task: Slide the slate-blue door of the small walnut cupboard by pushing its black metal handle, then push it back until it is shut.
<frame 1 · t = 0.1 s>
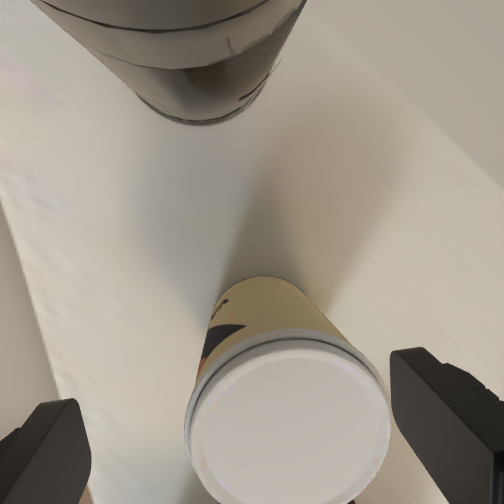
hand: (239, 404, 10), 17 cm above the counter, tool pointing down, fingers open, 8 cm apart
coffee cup: (262, 324, 28), on the counter
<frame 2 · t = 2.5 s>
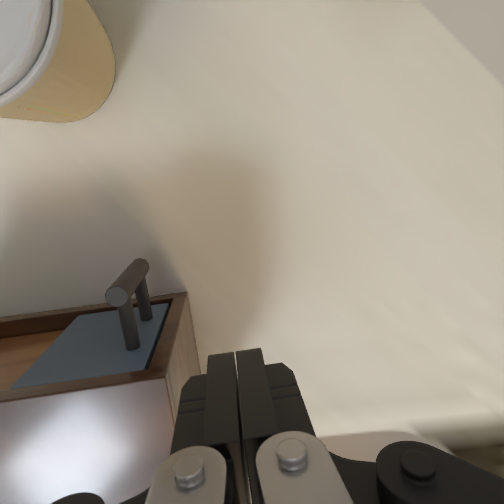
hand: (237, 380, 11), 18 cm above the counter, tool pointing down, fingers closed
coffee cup: (57, 62, 25), on the counter
sliding door: (98, 311, 23), point 6 cm above the counter, slide at 0.0 cm
cupboard: (96, 364, 30), on the counter
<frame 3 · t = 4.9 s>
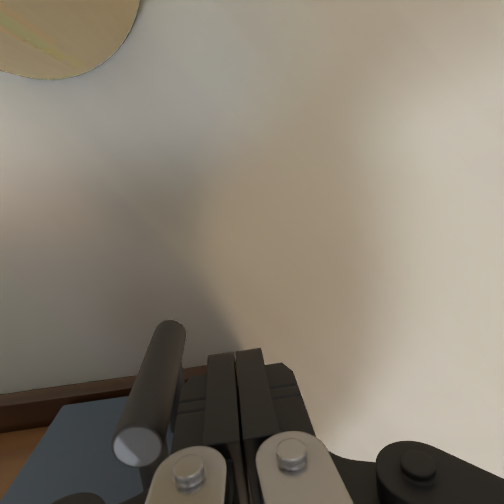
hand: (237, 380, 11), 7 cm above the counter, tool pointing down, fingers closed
sliding door: (96, 434, 12), point 6 cm above the counter, slide at 0.5 cm, touching gripper
cupboard: (101, 470, 19), on the counter
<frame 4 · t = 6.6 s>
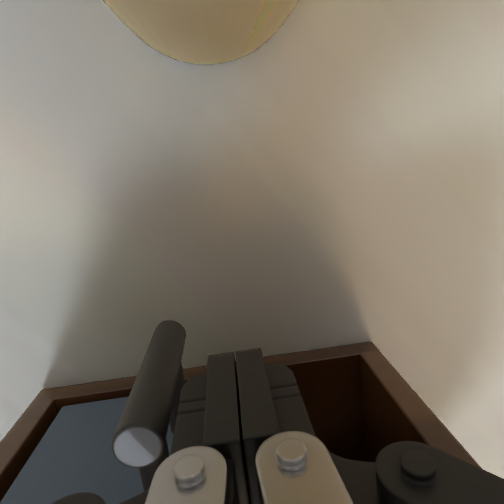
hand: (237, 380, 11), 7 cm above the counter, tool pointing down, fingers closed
sliding door: (96, 435, 12), point 6 cm above the counter, slide at 6.7 cm, touching gripper
cupboard: (224, 452, 19), on the counter
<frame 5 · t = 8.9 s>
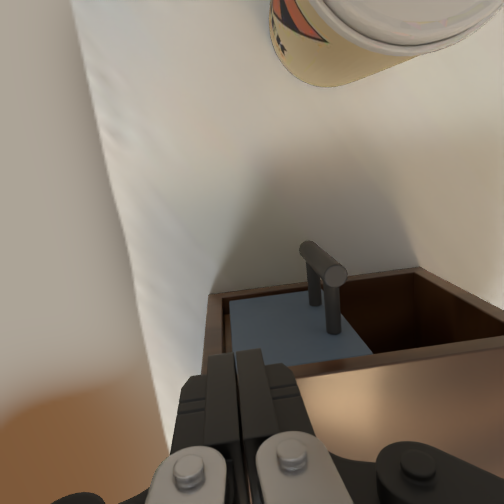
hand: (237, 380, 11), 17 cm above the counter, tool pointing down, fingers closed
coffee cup: (327, 24, 24), on the counter
sliding door: (284, 294, 21), point 6 cm above the counter, slide at 6.6 cm
cupboard: (320, 341, 29), on the counter
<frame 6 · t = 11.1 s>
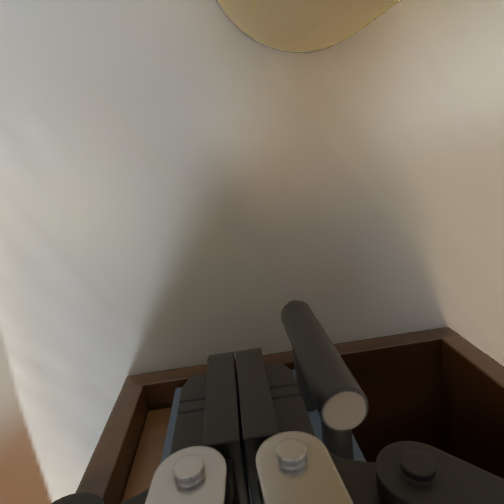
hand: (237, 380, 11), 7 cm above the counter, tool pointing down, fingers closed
sliding door: (251, 408, 12), point 6 cm above the counter, slide at 5.7 cm, touching gripper
cupboard: (300, 437, 20), on the counter
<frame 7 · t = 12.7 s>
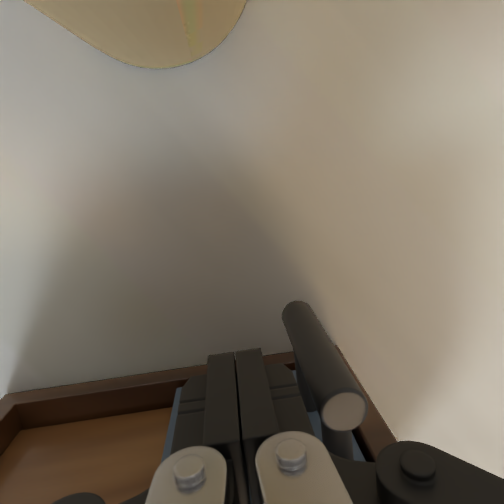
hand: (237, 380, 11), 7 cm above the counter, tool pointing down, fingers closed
sliding door: (251, 408, 12), point 6 cm above the counter, slide at -0.1 cm, touching gripper
cupboard: (190, 456, 19), on the counter
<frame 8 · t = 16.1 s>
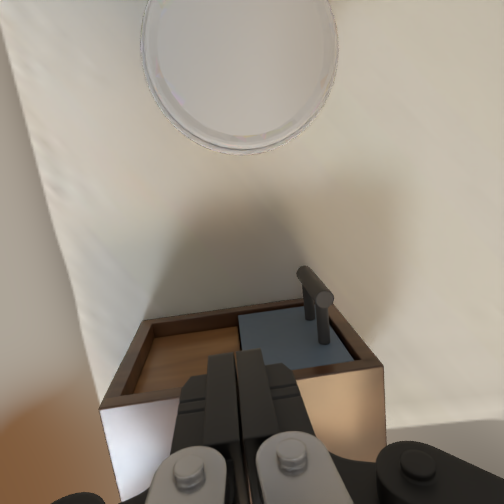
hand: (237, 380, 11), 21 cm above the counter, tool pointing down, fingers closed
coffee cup: (233, 96, 29), on the counter
sliding door: (284, 311, 26), point 6 cm above the counter, slide at 0.0 cm
cupboard: (242, 359, 34), on the counter
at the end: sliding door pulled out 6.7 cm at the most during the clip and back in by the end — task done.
